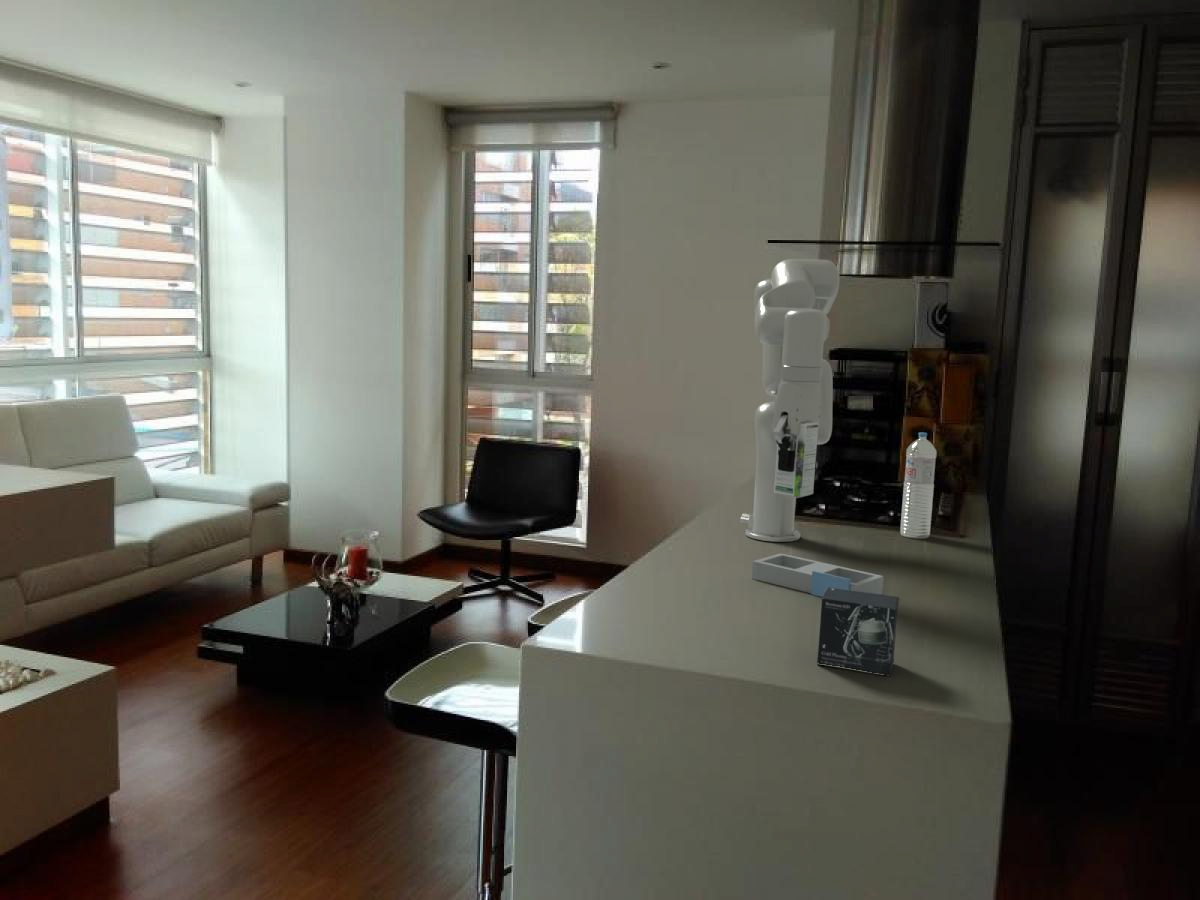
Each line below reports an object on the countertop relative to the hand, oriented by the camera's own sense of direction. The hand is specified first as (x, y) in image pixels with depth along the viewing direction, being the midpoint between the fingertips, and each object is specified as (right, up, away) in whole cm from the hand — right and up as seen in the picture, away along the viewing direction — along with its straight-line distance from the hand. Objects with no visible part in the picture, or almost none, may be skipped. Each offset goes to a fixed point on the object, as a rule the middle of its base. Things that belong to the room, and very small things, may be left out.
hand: (795, 468), depth 185 cm
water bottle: (+38, -17, +45) cm, 62 cm away
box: (0, -28, -43) cm, 52 cm away
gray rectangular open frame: (+4, -23, -1) cm, 23 cm away
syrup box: (0, -5, +1) cm, 5 cm away
